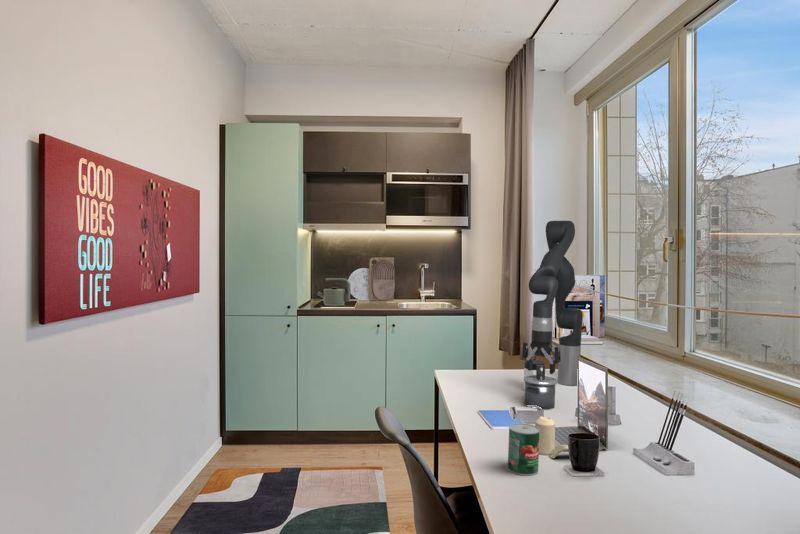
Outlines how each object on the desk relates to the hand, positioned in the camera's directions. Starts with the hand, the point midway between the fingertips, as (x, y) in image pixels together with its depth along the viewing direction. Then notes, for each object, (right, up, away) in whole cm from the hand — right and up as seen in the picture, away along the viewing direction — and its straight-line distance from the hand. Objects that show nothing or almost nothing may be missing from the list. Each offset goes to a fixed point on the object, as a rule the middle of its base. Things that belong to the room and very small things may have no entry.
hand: (540, 372), depth 202 cm
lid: (0, -4, 0) cm, 4 cm away
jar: (+3, -12, +22) cm, 25 cm away
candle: (-11, -14, -47) cm, 50 cm away
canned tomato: (-20, -14, -60) cm, 65 cm away
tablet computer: (-18, -14, -18) cm, 29 cm away
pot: (0, -13, 0) cm, 13 cm away
